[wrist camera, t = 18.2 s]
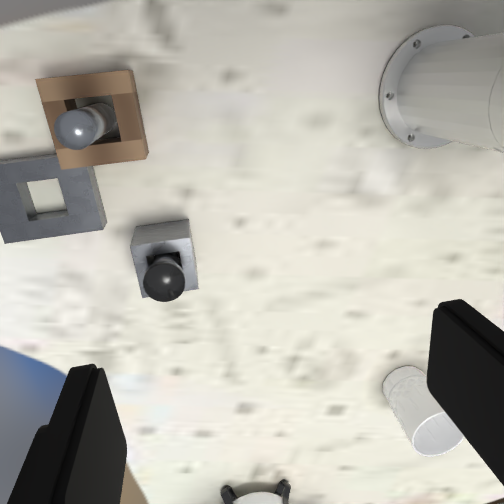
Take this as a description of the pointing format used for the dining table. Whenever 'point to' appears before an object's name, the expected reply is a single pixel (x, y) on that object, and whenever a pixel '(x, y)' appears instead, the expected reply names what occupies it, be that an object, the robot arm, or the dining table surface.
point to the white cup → (420, 412)
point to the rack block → (126, 109)
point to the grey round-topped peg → (84, 125)
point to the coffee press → (258, 496)
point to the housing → (164, 249)
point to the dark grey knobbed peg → (164, 278)
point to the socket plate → (52, 223)
